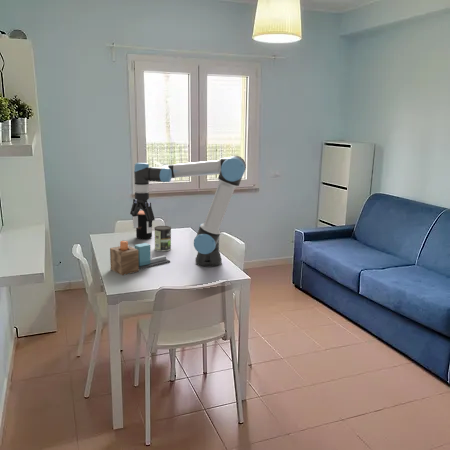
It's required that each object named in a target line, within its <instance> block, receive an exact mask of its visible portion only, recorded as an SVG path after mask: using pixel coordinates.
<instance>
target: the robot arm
mask: <svg viewBox="0 0 450 450" xmlns="http://www.w3.org/2000/svg"><path fill="white" fill-rule="evenodd" d="M133 168H134V170H133V173H134V174H133V175H134V176H133V177H134V198H133V199H132V204H131V207H130V208H131V209H130V214H129V215H131V217H132V229H136V228H138V215H137V214H138V212H139V211H142V210H143V211H144V213H145V215H146V218H147V233H152V234H153V221H155V220H156V219H155V215H154V212H153V208H152V202H151V201H149V202H148V200H149V199H150V193H149V190H150V182H158V183H159V182H160V183H170V182H171V181H172V179H177V178H187V177H200V176H201V177H202V176H212V175H218V177H217V179H218V181H219V183H218V186H217V188H216V190H215V193H214V196H213V198H212V202H211V204H210V207H209V209H208V212H207V214H206V217H205V219H204V220H205V221H204V223H200V224H199V226H198V231H197V233H196V236H195V237H194V239H193V247H194V249H195V251H196V252H197V254H196V257H195V264H196V265H198V266H201V267H218V266H220V265H222V261H223V260H222V256H221V253H220V235H221V226H222V223H223V219H224V217H225V215H226V213H227V209H228V207H229V205H230V202H231V200H232V197H233V194H234V191H235V189H236V188H238V187H240V184H241V182H242V179H243V176H244V174H245V172H246V169H247V164H246V161H245V160H244V159H243V157H241V156H239V155H231V156H227V157H220V158H219V159H216V160H207V161H206V160H205V161H195V162H186V163H174V164H163V165H161V166H158V167H156V166H155V167H154V166H150V165H149V163H148V162H135V164H134V167H133Z"/></svg>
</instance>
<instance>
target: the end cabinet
mask: <svg viewBox="0 0 450 450" xmlns="http://www.w3.org/2000/svg"><path fill="white" fill-rule="evenodd" d="M109 253H110V254H109V256H110V257H109V259H110V270H111V271H113V272H114V273H117V274H119V275H121V276H125V275H124V274H126V275H129V274H128V273H130V274H134V273H137V272H138V273H139V271H140V270H139V259H138V250H137V249H135V247H132V246H130V245H128V250H125V251H121V250H120V246H119V245H118V246H115V247H110V248H109ZM133 272H134V273H133Z"/></svg>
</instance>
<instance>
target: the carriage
mask: <svg viewBox="0 0 450 450" xmlns="http://www.w3.org/2000/svg"><path fill="white" fill-rule="evenodd" d="M134 248H135V249H137V250H138V259H139V266H143V265H147V264H150V260H151V244H150V243H147V242H143V243H138V244H134Z"/></svg>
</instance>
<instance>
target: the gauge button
mask: <svg viewBox="0 0 450 450" xmlns="http://www.w3.org/2000/svg"><path fill="white" fill-rule="evenodd" d="M119 244H120V250H121V251H125V250H128V246H129V241H128V240H120V241H119Z"/></svg>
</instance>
